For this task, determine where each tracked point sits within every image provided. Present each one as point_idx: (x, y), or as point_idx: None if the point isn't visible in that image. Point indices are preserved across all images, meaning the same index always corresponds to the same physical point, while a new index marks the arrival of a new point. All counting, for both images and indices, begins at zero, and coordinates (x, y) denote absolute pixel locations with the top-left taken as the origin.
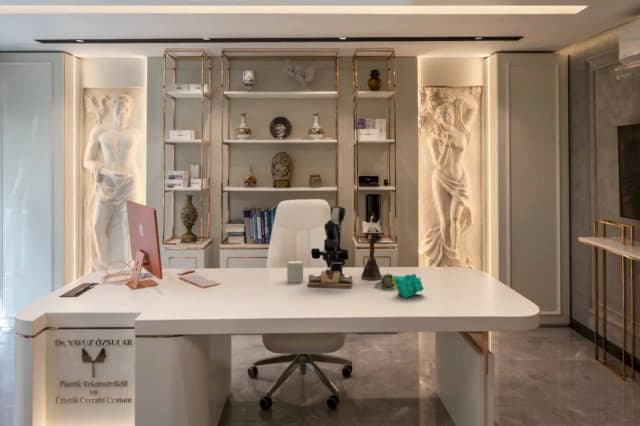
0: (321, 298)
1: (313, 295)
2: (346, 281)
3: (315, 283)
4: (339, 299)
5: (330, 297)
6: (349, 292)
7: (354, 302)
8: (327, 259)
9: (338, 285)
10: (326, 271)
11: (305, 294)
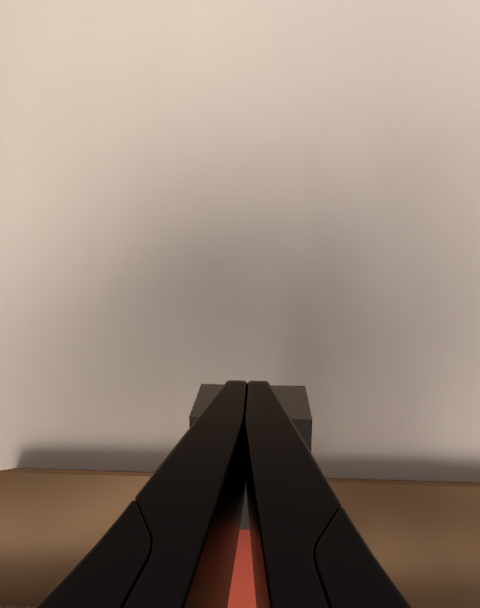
0: (270, 70)
1: (353, 141)
2: (22, 606)
3: (446, 540)
4: (132, 67)
5: (203, 107)
6: (43, 292)
7: (30, 18)
8: (299, 554)
9: (141, 475)
10: (288, 396)
11: (432, 161)
